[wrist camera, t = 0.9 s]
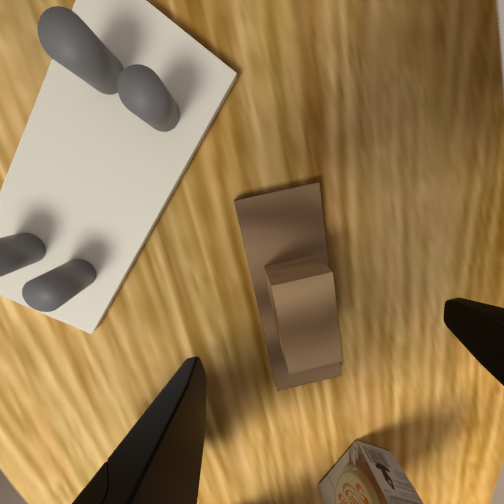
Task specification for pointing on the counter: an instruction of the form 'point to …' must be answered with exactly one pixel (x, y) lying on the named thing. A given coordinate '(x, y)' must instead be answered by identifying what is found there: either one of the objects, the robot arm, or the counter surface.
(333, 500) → the coffee box
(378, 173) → the counter surface
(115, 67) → the peg stand
